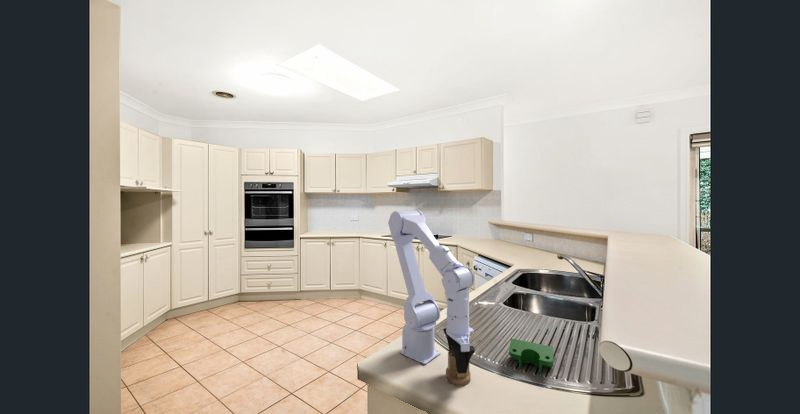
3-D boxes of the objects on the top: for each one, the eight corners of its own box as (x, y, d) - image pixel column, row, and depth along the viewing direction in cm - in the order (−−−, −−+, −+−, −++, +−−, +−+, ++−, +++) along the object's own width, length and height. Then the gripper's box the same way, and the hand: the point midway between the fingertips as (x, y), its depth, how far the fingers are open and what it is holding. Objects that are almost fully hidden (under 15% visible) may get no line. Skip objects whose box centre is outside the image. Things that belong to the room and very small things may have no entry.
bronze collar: (444, 373, 80) (444, 354, 80) (455, 364, 84) (455, 346, 84) (462, 381, 77) (462, 362, 76) (472, 371, 81) (472, 353, 80)
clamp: (516, 380, 86) (502, 353, 85) (518, 364, 91) (505, 339, 90) (560, 377, 80) (546, 348, 79) (560, 361, 85) (546, 333, 84)
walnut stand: (441, 378, 80) (441, 373, 80) (453, 367, 85) (453, 362, 85) (462, 389, 76) (462, 383, 76) (474, 377, 81) (474, 371, 81)
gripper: (482, 325, 72) (482, 380, 73) (465, 302, 87) (465, 348, 88) (452, 326, 72) (453, 381, 73) (440, 303, 86) (441, 349, 87)
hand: (458, 363), depth 80 cm, fingers open, 7 cm apart
